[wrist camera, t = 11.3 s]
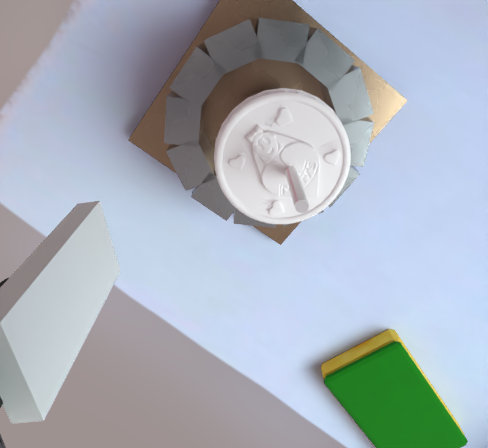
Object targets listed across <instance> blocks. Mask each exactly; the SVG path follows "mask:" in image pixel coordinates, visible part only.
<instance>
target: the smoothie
mask: <svg viewBox="0 0 488 448" xmlns="http://www.w3.org/2000/svg"><path fill="white" fill-rule="evenodd" d="M214 161H215V171H216V176H217V180H218V183H219V185H220V187H221V189H222V191H223V193H224V195H225V196H226V198H227V199H228V200H229V201H230V203H231V204H232V205H233V206H234V207H235V208H237V209H238V210H239V211H240V212H242V213H243V214H245V215H247V216H248V217H250V218H253V219H255V220H258V221H261V222H265V223H270V224H291V223H296V222H300V221H303V220H306V219H308V218H311V217H313V216H314V215H316V214H318V213H319V212H321V211H322V210H324V209H325V208H326V207H327V206H328V205H330V204H331V203H332V202H333V200H334V199H335V198H336V197H337V195H338V194H339V193H340V191H341V189H342V188H343V186H344V184H345V182H346V179H347V176H348V173H349V169H350V162H351V150H350V143H349V139H348V136H347V133H346V131H345V129H344V127H343V125H342V123H341V121H340V120H339V118H338V117H337V115H336V114H335V112H334V111H333V109H332V108H330V107H329V106H328V105H327V104H326V103H324V102H323V101H322V100H321V99H320V98H318V97H316V96H314V95H311V94H309V93H307V92H304V91H302V90H295V89H288V88H279V89H271V90H265V91H262V92H260V93H258V94H255V95H253V96H251V97H248V98H247V99H245V100H244V101H243V102H242V103H240V104H239V105H238V106H237V107H235V108H234V109H233V110H232V111H231V113H230V114H229V115H228V117H227V118H226V119H225V121H224V122H223V123H222V125H221V128H220V131H219V133H218V136H217V138H216V142H215V151H214Z"/></svg>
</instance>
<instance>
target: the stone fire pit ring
mask: <svg viewBox="0 0 488 448" xmlns="http://www.w3.org/2000/svg"><path fill="white" fill-rule="evenodd" d="M279 88H288V89H295V90H302V91H304V92H307V93H309V94H311V95H314V96H316V97H318V98H320V99H321V100H322V101H323V102H324V103H326V104H327V105H328V106H329V107H330V108H332V109H333V111H334V112H335V114H336V115H337V117H338V118H339V120H340V121H341V123H342V125H343V127H344V129H345V131H346V133H347V136H348V139H349V143H350V150H351V162H350V169H349V173H348V176H347V179H346V182H345V184H344V186H343V188H342V189H341V191H340V193H339V194H338V195H337V197H336V198H335V199H334V200H333V202H332V203H331V204H330V205H328V206H329V207H331V206H332V205H333V204H334V202H335V201H336V200H337V199H338V198H339V197H340V196H341V195H342V194H343V192H344V191H345V190H346V189H347V188H348V187H349V186H350V185H351V183H352V182H353V181H354V180H355V179H356V178H357V177H358V176H359V175H360V174H359V173H358V171H357V170H356V169H355V167H354V166H360V167H364V163H365V159H366V155H367V151H368V147H369V144H370V143H371V142H372V140H373V139H374V138H375V137H376V136H377V135H378V134H379V132H380V131H381V130H382V129H383V128H384V127H385V126H386V124H387V123H388V122H389V121H390V120H391V119H392V118H393V117H394V115H395V114H396V113H397V112H398V111H399V110H400V109H401V107H402V106H403V105H404V104H405V103H406V102H407V101H408V100H406V99H405V98H404V97H403V96H402V95H401V94H400V93H398V92H397V91H396V90H395V89H394V88H393V87H391V86H390V85H389V84H388V83H387V82H386V81H385V80H383V79H382V78H381V77H380V76H379V75H378V74H377V73H375V72H374V71H373V70H372V69H371V68H370V67H368V66H367V65H366V64H365V63H364V62H363V61H362V60H360V59H359V58H358V57H357V56H356V55H355V54H353V53H352V52H351V51H350V50H349V49H348V48H347V47H345V46H344V45H343V44H342V43H341V42H340V41H339V40H337V39H336V38H335V37H334V36H333V35H332V34H330V33H329V32H328V31H327V30H326V29H325V28H324V27H322V26H321V25H320V24H319V23H318V22H317V21H315V20H314V19H313V18H312V17H311V16H310V15H309V14H307V13H306V12H305V11H304V10H303V9H302V8H301V7H299V6H298V5H297V4H296V3H295V2H294V1H292V0H220V1H219V3H218V4H217V6H216V7H215V9H214V10H213V12H212V13H211V15H210V16H209V18H208V19H207V21H206V22H205V24H204V25H203V27H202V28H201V30H200V32H199V33H198V35H197V36H196V38H195V39H194V41H193V42H192V44H191V45H190V47H189V48H188V50H187V51H186V53H185V54H184V56H183V57H182V59H181V60H180V62H179V63H178V65H177V67H176V68H175V70H174V71H173V73H172V74H171V76H170V77H169V79H168V80H167V82H166V83H165V85H164V86H163V88H162V89H161V91H160V92H159V94H158V95H157V97H156V99H155V100H154V102H153V103H152V105H151V106H150V108H149V109H148V111H147V112H146V114H145V115H144V117H143V118H142V120H141V121H140V123H139V124H138V126H137V127H136V129H135V131H134V132H133V134H132V135H131V137H130V138H129V141H130V142H132V143H133V144H135V145H136V146H138V147H139V148H141V149H142V150H143V151H145V152H146V153H148V154H149V155H151V156H152V157H154V158H155V159H157V160H158V161H159V162H161V163H162V164H164V165H165V166H167V167H168V168H170V169H171V170H173V171H174V172H175V173H177V174H178V176H179V178H180V180H181V182H182V184H183V186H184V188H185V190H186V191H187V190H189V189H191V188H194V189H193V192H192V196H191V197H192V198H194V199H195V200H197V201H198V202H200V203H201V204H203V205H204V206H205V207H207V208H208V209H210V210H211V211H213V212H214V213H216V214H217V215H219V216H220V217H222V218H223V219H225V220H226V221H227V219H228V218H229V217H230V216H231V214H232V213H233V212H234V223H235V224H244V225H252V226H254V227H255V228H257V229H258V230H260V231H261V232H263V233H264V234H265V235H267V236H268V237H270V238H271V239H273V240H274V241H276V242H277V243H279V244H280V245H281V244H282V243H283V241H284V240H285V239H286V238H287V237H288V236H289V235H290V234H291V232H292V231H293V230H294V229H295V228H296V227H297V226H298V224H299V223H300V222H301V221H300V222H296V223H291V224H270V223H265V222H261V221H258V220H255V219H253V218H250V217H248V216H247V215H245V214H243V213H242V212H240V211H239V210H238V209H237V208H235V207H234V206H233V205H232V204H231V203H230V201H229V200H228V199H227V198H226V196H225V195H224V193H223V191H222V189H221V187H220V185H219V183H218V180H217V176H216V171H215V161H214V151H215V142H216V138H217V136H218V133H219V131H220V128H221V125H222V123H223V122H224V121H225V119H226V118H227V117H228V115H229V114H230V113H231V111H232V110H233V109H234V108H235V107H237V106H238V105H239V104H240V103H242V102H243V101H244V100H245V99H247V98H248V97H251V96H253V95H255V94H258V93H260V92H262V91H265V90H271V89H279ZM322 212H323V210H322V211H321V212H319V213H322ZM319 213H318V214H319Z"/></svg>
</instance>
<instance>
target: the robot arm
mask: <svg viewBox="0 0 488 448" xmlns="http://www.w3.org/2000/svg"><path fill="white" fill-rule="evenodd" d="M119 273H120V268H119V265H118V261H117V258H116V255H115V251H114V248H113V244H112V241H111V238H110V234H109V231H108V227H107V224H106V221H105V217H104V214H103V210H102V207H101V203H100V201H96V202H88V203H80V204H77V205H76V206H75V207H74V208H73V210H72V211H71V212H70V213H69V214H68V215H67V216H66V217H65V218H64V219H63V220H62V221H61V222H60V224H59V225H58V226H57V227H56V228H55V229H54V230H53V231H52V232H51V233H50V234H49V235H48V237H47V238H46V239H45V240H44V241H43V242H42V243H41V244H40V245H39V246H38V247H37V249H36V250H35V251H34V252H33V253H32V254H31V255H30V256H29V257H28V258H27V259H26V260H25V261H24V263H23V264H22V265H21V266H20V267H19V268H18V269H17V270H16V271H15V272H14V273H13V274H12V276H11V277H10V278H7V279H5V280H4V281H2V282H1V283H0V407H1V406H2V405H3V407H4V409H5V411H6V413H7V415H8V417H9V419H10V421H11V423H24V422H35V421H44V419H45V417H46V415H47V413H48V411H49V409H50V407H51V405H52V403H53V402H54V400H55V398H56V396H57V394H58V392H59V390H60V388H61V386H62V384H63V382H64V380H65V378H66V376H67V374H68V372H69V370H70V368H71V366H72V365H73V363H74V360H75V359H76V357H77V355H78V353H79V351H80V349H81V347H82V345H83V343H84V341H85V339H86V337H87V335H88V333H89V331H90V329H91V328H92V326H93V324H94V322H95V320H96V318H97V316H98V314H99V312H100V310H101V308H102V306H103V304H104V302H105V300H106V298H107V296H108V295H109V292H110V290H111V289H112V287H113V285H114V283H115V281H116V279H117V277H118V275H119ZM0 448H6V447H5V445H4V442H3V440H2V437H1V435H0Z"/></svg>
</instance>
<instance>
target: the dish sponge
mask: <svg viewBox="0 0 488 448" xmlns="http://www.w3.org/2000/svg"><path fill="white" fill-rule="evenodd" d="M321 370H322V374H323V378H324V383H325V385H326V386H327V387H328V388H329V390H330V391H331V392H332V393H333V395H334V396H335V397H336V398H337V400H338V401H339V402H340V403H341V405H342V406H343V407H344V408H345V410H346V411H347V412H348V413H349V414H350V416H351V417H352V418H353V419H354V421H355V422H356V423H357V424H358V426H359V427H360V428H361V429H362V431H363V432H364V433H365V434H366V435H367V437H368V438H369V439H370V440H371V442H372V443H373V444H374V445H375V447H376V448H460V447H462V446H465V445H466V443H467V442H468V441H467V439H466V437H465V435H464V433H463V432H462V430H461V428H460V426H459V424H458V423H457V421H456V420H455V418H454V417H453V415H452V414H451V412H450V411H449V409H448V408H447V406H446V405H445V403H444V402H443V401H442V399H441V398H440V396H439V395H438V393H437V392H436V390H435V389H434V387H433V386H432V384H431V383H430V381H429V380H428V379H427V377H426V376H425V374H424V373H423V371H422V370H421V368H420V367H419V365H418V364H417V362H416V361H415V359H414V358H413V356H412V355H411V354H410V352H409V351H408V349H407V348H406V346H405V345H404V343H403V342H402V340H401V339H400V337H399V336H398V334H397V333H396V332H395V330H392V329H388V330H386V331H384V332H382V333H380V334H378V335H377V336H375V337H373V338H371V339H369V340H367V341H365V342H363V343H361V344H359V345H357V346H355V347H353V348H351V349H350V350H348V351H346V352H344V353H342V354H340V355H338V356H336V357H334V358H332V359H330V360H328V361H326V362H324V363H323V364H322V366H321Z"/></svg>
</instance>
